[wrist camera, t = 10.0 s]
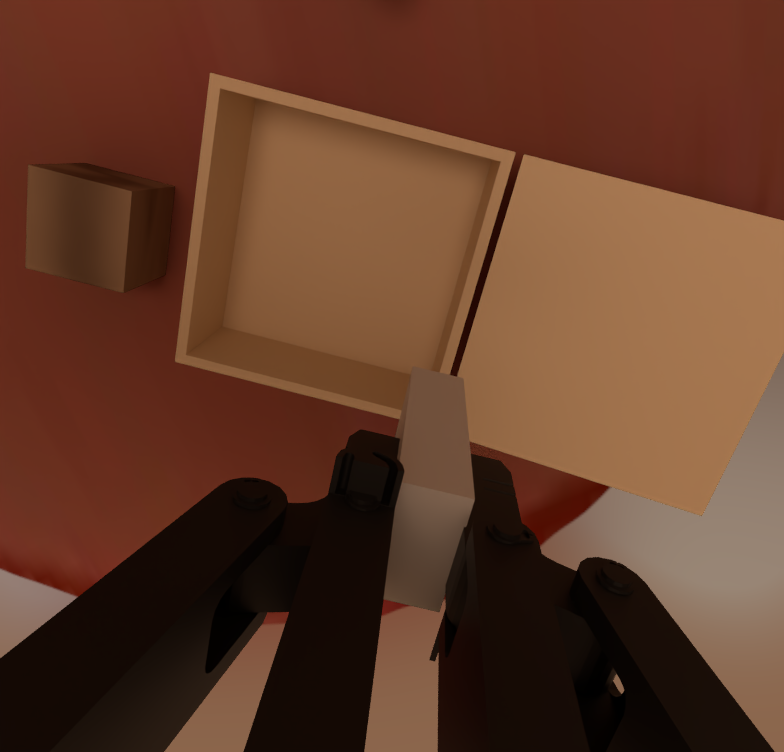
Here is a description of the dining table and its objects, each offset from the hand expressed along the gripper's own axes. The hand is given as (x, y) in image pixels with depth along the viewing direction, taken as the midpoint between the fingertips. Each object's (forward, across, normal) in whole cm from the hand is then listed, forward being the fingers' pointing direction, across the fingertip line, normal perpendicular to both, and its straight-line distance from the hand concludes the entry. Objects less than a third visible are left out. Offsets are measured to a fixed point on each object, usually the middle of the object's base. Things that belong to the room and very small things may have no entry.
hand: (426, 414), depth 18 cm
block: (+24, -21, -2) cm, 32 cm away
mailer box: (+24, -6, 0) cm, 25 cm away
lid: (+16, +10, 0) cm, 19 cm away
